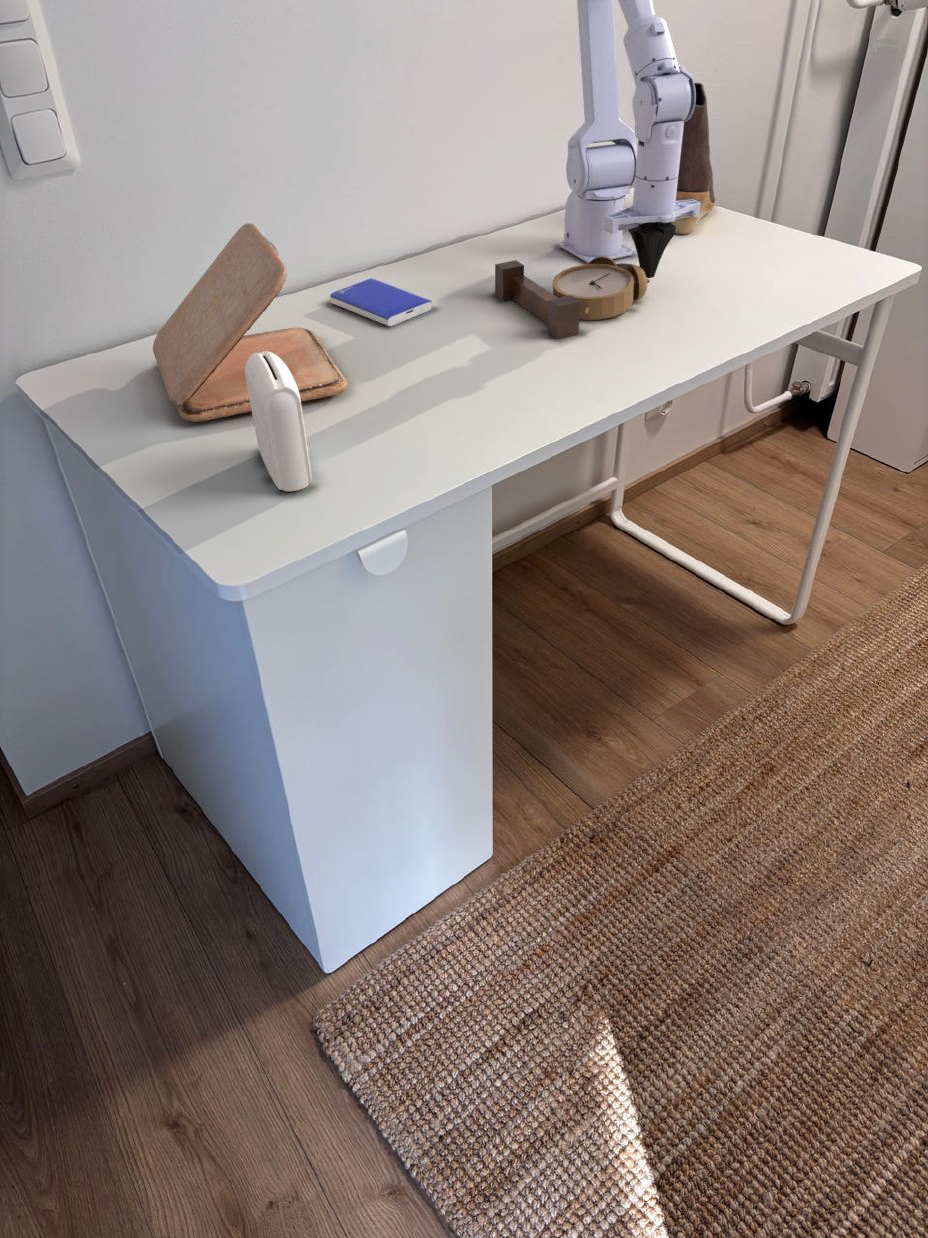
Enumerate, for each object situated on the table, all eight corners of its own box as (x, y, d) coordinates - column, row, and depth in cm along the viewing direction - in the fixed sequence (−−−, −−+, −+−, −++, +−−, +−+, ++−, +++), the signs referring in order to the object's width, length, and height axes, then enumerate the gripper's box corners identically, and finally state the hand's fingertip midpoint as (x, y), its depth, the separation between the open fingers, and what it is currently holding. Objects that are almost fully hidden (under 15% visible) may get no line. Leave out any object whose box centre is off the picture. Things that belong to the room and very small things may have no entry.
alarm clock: (533, 285, 135) (605, 239, 141) (537, 317, 139) (606, 270, 145) (595, 307, 129) (667, 257, 135) (597, 340, 133) (667, 290, 138)
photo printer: (255, 450, 108) (236, 344, 100) (293, 442, 109) (277, 337, 101) (277, 497, 101) (257, 386, 93) (317, 487, 102) (301, 377, 94)
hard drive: (329, 293, 139) (387, 316, 132) (372, 276, 143) (431, 298, 136) (330, 304, 140) (388, 327, 133) (373, 287, 144) (432, 309, 137)
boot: (714, 193, 174) (731, 66, 162) (713, 239, 156) (731, 100, 144) (664, 192, 176) (677, 65, 163) (657, 237, 158) (671, 99, 145)
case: (154, 360, 127) (124, 234, 116) (312, 333, 132) (296, 209, 122) (176, 431, 112) (143, 294, 102) (353, 397, 117) (339, 263, 107)
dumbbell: (495, 295, 141) (494, 263, 138) (516, 290, 142) (516, 259, 139) (556, 339, 129) (557, 305, 126) (579, 333, 130) (581, 300, 127)
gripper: (627, 191, 126) (619, 294, 135) (719, 173, 131) (705, 274, 140) (598, 177, 131) (592, 278, 140) (687, 161, 136) (676, 259, 144)
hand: (647, 275), depth 140 cm, fingers closed
